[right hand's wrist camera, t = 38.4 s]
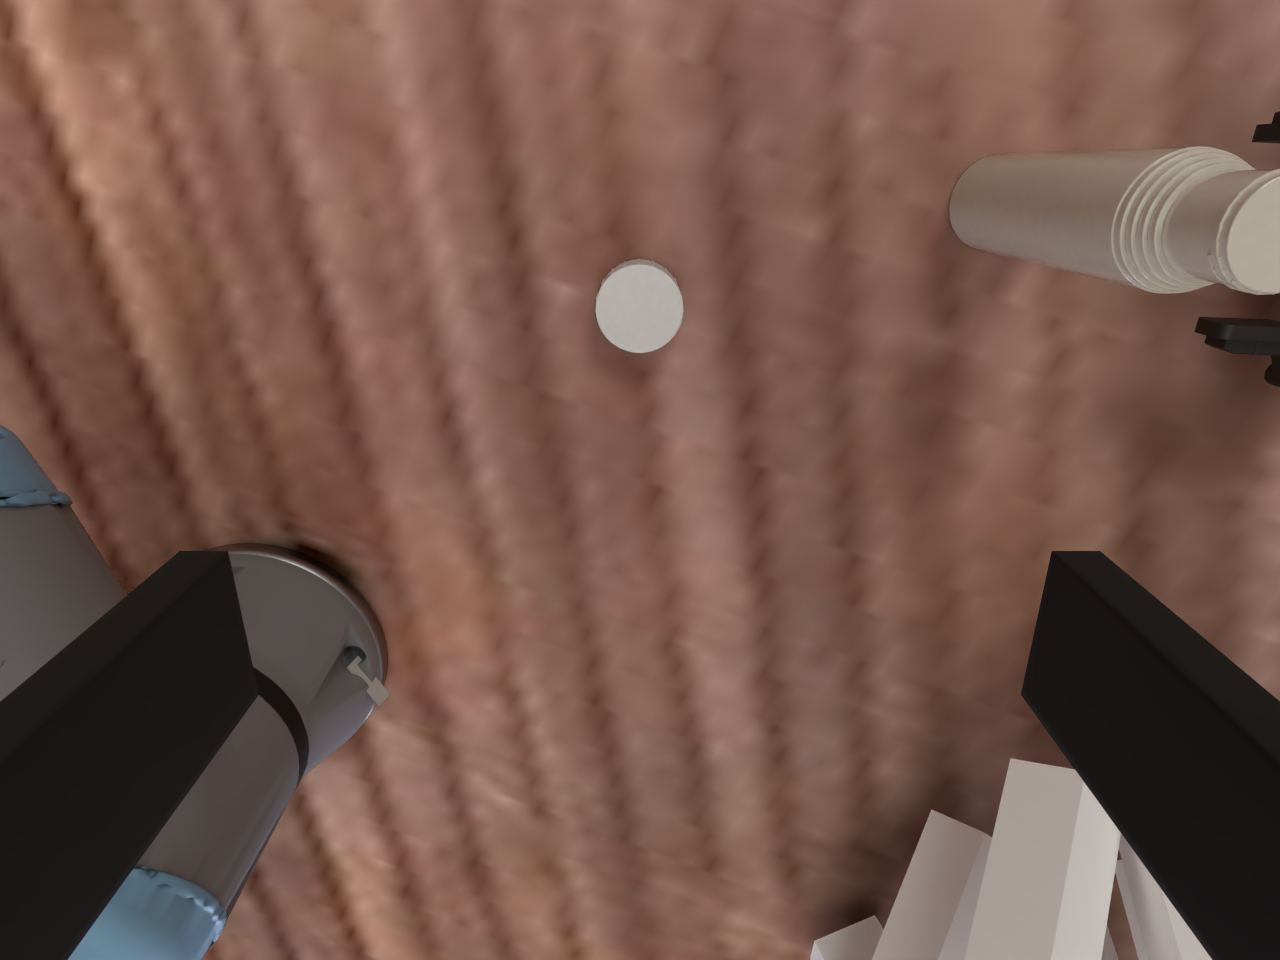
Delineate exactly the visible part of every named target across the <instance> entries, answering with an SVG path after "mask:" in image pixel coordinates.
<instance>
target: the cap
mask: <svg viewBox="0 0 1280 960" xmlns="http://www.w3.org/2000/svg"><path fill="white" fill-rule="evenodd" d="M682 297H683V295H682V292H681V290H679V287H678V284H677V281H676V278H675V277H673V276H672V274H671V273H670V272H669V271H668V270H667V269H666V267H663V266H661V265H659V264H658V263H655V262H654V261H653V260H652V261H649V260H643V259H639V258H638V259H635V260H630V261H626V262H625V261H624V263H621V264H619V265H618V266H616V267H615V268H614V269H613V268H612V269H611V271H610V272H609V273H608V274H607V276H606V277H605V279H603V280H602V283H601V287H600V290H599V292H598V293H597V296H596V299H597V300H596V311H595V314H596V317H597V321H598V324H599V327H600V329H601V331H602V332H603V334H604V335H605V336H606V338H607V339H608V340H609V341H610V342H611V343H613V344H614V345H615V346H617V347H619V348H620V349H623V350H625V351H629V352H634V353H645V352H650V351H654V350H656V349H659V348H660V347H662V346H664V345H665V344H666V343H668V342H669V341H670V340H671V339H672V338H673V337H674V335H675V334H676V332H677V331H678V329H679V327H680V325H681V321H682V317H683V312H684V309H683V300H682Z"/></svg>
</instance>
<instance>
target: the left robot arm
mask: <svg viewBox="0 0 1280 960" xmlns="http://www.w3.org/2000/svg"><path fill="white" fill-rule="evenodd" d="M1252 142H1264V143H1280V111H1279V112H1276V113H1275V115H1274V118H1273V121H1272V124H1262V125H1257V126H1256V130H1255V133H1254V136H1253V140H1252ZM1195 332H1197V333H1200V334H1203V335H1207V336H1206V339H1205V343H1206V344H1208V345H1210V346H1212V347H1214V348H1217V349H1220V350H1223V351H1227V352H1230V353H1233V354H1257V355H1271V358H1272V364H1271V365H1270V366H1269V367H1268V368H1267V370H1266V372H1265V380H1266V381H1267V382H1268V383H1269V384H1272V385H1275V386H1278V387H1280V322H1277V321H1273V320H1265V319H1240V318H1215V317H1199V319H1198V322H1197V325H1196V329H1195Z"/></svg>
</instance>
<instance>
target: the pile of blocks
mask: <svg viewBox="0 0 1280 960" xmlns="http://www.w3.org/2000/svg"><path fill="white" fill-rule="evenodd" d="M1118 849H1119V851H1120V854H1121V858H1122V860H1117V856H1118ZM1115 873H1116V877H1117V881H1118V884H1119V888H1120V892H1121V896H1122V899H1123V903H1124V907H1125V910H1126V914H1127V918H1128V922H1129V925H1130V929H1131V933H1132V937H1133V940H1134V944H1135V948H1136V951H1137V955H1138V959H1139V960H1212V959H1211V957H1210V956H1209V954H1208V953H1207V952H1206V950H1205V949H1204V948H1203V946H1202V945H1201V943H1200V942H1199V941H1198V939H1197V938H1196V936H1195V935H1194V934H1193V932H1192V931H1191V930H1190V928H1189V927H1188V925H1187V924H1186V923H1185V921H1184V920H1183V918H1182V917H1181V916H1180V914H1179V913H1178V912H1177V910H1176V909H1175V907H1174V906H1173V905H1172V903H1171V902H1170V900H1169V899H1168V898H1167V896H1166V895H1165V893H1164V892H1163V891H1162V889H1161V888H1160V887H1159V885H1158V884H1157V882H1156V881H1155V880H1154V878H1153V877H1152V875H1151V874H1150V873H1149V871H1148V870H1147V869H1146V867H1145V866H1144V864H1143V863H1142V862H1141V860H1140V859H1139V857H1138V856H1137V855H1136V853H1135V852H1134V851H1133V849H1132V848H1131V846H1130V845H1129V844H1128V842H1127V841H1126V839H1125V838H1124V837H1123V835H1122V834H1121V832H1120V831H1119V830H1118V828H1117V827H1116V826H1115V824H1114V823H1113V821H1112V820H1111V819H1110V817H1109V816H1108V814H1107V813H1106V812H1105V810H1104V809H1103V808H1102V806H1101V805H1100V803H1099V802H1098V801H1097V799H1096V798H1095V796H1094V795H1093V794H1092V792H1091V791H1090V790H1089V788H1088V787H1087V785H1086V784H1085V783H1084V781H1083V780H1082V778H1081V777H1080V776H1079V774H1078V773H1077V771H1076V770H1075V769H1070V768H1064V767H1058V766H1052V765H1046V764H1040V763H1034V762H1028V761H1023V760H1017V759H1011V758H1010V762H1009V767H1008V771H1007V775H1006V780H1005V784H1004V788H1003V793H1002V797H1001V802H1000V806H999V810H998V815H997V819H996V823H995V828H994V832H993V836H992V837H990V836H989V835H987V834H986V833H984V832H982V831H980V830H977V829H975V828H973V827H970V826H968V825H966V824H964V823H961V822H959V821H957V820H955V819H952V818H950V817H948V816H945V815H943V814H941V813H939V812H936V811H934V810H932V809H931V812H930V814H929V817H928V819H927V822H926V824H925V827H924V829H923V832H922V834H921V837H920V840H919V842H918V845H917V847H916V850H915V852H914V855H913V857H912V860H911V862H910V865H909V867H908V870H907V872H906V875H905V877H904V880H903V882H902V885H901V887H900V890H899V892H898V895H897V897H896V900H895V902H894V905H893V907H892V910H891V913H890V915H889V918H888V920H887V923H886V925H885V928H884V929H883V928H882V926H881V924H880V923H879V921H878V919H877V918H876V916H875V915H874V916H872V917H869V918H867V919H864V920H862V921H860V922H857V923H855V924H853V925H850V926H848V927H846V928H843V929H841V930H839V931H836V932H834V933H831V934H829V935H827V936H824V937H822V938H820V939H817V940H815V941H814V945H813V949H812V953H811V957H810V960H1118V957H1117V954H1116V951H1115V948H1114V945H1113V942H1112V939H1111V936H1110V933H1109V929H1108V926H1107V919H1108V913H1109V907H1110V900H1111V894H1112V887H1113V881H1114V875H1115Z"/></svg>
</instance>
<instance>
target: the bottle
mask: <svg viewBox="0 0 1280 960" xmlns="http://www.w3.org/2000/svg"><path fill="white" fill-rule="evenodd" d="M949 215H950V221H951V224H952V227H953V229H954V231H955V233H956V235H957V236H958V237H959V238H960V239H961V240H962V241H963V242H964V243H965V244H966V245H968V246H970V247H972V248H975V249H977V250H981V251H986V252H990V253H994V254H998V255H1002V256H1006V257H1010V258H1014V259H1018V260H1022V261H1026V262H1030V263H1034V264H1038V265H1042V266H1046V267H1051V268H1055V269H1059V270H1063V271H1067V272H1071V273H1075V274H1079V275H1083V276H1087V277H1091V278H1095V279H1099V280H1103V281H1107V282H1111V283H1116V284H1120V285H1124V286H1128V287H1132V288H1136V289H1140V290H1144V291H1148V292H1153V293H1160V294H1170V293H1184V292H1189V291H1193V290H1196V289H1199V288H1202V287H1205V286H1209V285H1212V284H1215V283H1218V284H1223V285H1226V286H1227V287H1229V288H1231V289H1235V290H1238V291H1242V292H1246V293H1251V294H1255V295H1269V294H1273V295H1274V294H1277V293H1280V168H1279V169H1276V170H1256V169H1254V168H1253V167H1252V166H1250V165H1249V164H1248V163H1246V162H1245V161H1243V160H1242V159H1241V158H1239V157H1238V156H1236V155H1234V154H1232V153H1230V152H1227V151H1224V150H1220V149H1217V148H1212V147H1203V146H1194V147H1166V148H1138V149H1110V150H1082V151H1055V152H1027V153H1001V154H994V155H990V156H987V157H984V158H982V159H980V160H978V161H977V162H975V163H974V164H972V165H971V166H970V167H969V168H968V169H967V170H966V171H965V172H964V173H963V174H962V176H961V177H960V178H959V180H958V181H957V183H956V185H955V187H954V189H953V192H952V195H951V199H950V205H949Z"/></svg>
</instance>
